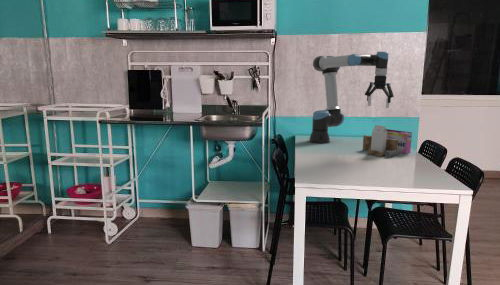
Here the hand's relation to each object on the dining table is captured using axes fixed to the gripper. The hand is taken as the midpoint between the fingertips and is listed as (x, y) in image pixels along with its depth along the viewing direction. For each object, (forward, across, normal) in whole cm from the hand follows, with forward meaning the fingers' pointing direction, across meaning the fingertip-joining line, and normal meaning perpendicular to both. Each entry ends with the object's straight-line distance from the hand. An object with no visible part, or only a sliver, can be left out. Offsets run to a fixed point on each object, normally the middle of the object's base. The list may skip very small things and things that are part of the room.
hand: (377, 106), depth 267 cm
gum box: (+30, +10, +7) cm, 32 cm away
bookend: (+29, +19, -12) cm, 37 cm away
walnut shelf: (+29, +8, -13) cm, 33 cm away
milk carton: (+29, +10, -13) cm, 34 cm away
